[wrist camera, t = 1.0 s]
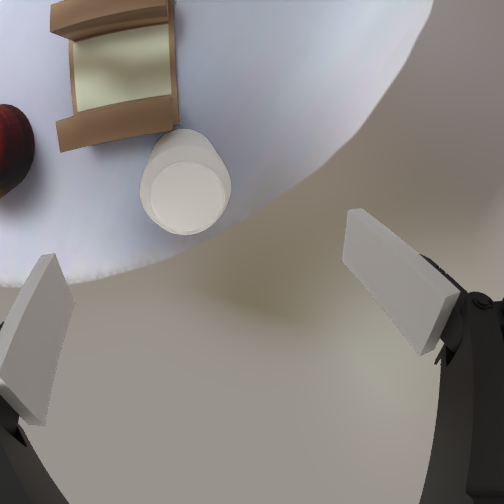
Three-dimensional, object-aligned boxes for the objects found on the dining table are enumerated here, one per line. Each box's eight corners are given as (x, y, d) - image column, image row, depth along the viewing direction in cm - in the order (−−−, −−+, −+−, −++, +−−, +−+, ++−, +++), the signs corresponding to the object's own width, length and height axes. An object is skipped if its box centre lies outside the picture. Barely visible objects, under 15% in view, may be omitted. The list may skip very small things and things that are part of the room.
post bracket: (71, 19, 18) (45, 4, 12) (173, -1, 20) (173, -26, 14) (80, 141, 25) (55, 157, 19) (179, 123, 26) (179, 133, 21)
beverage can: (139, 166, 28) (118, 213, 18) (176, 114, 26) (176, 130, 16) (188, 199, 31) (197, 260, 21) (226, 151, 29) (256, 189, 19)
